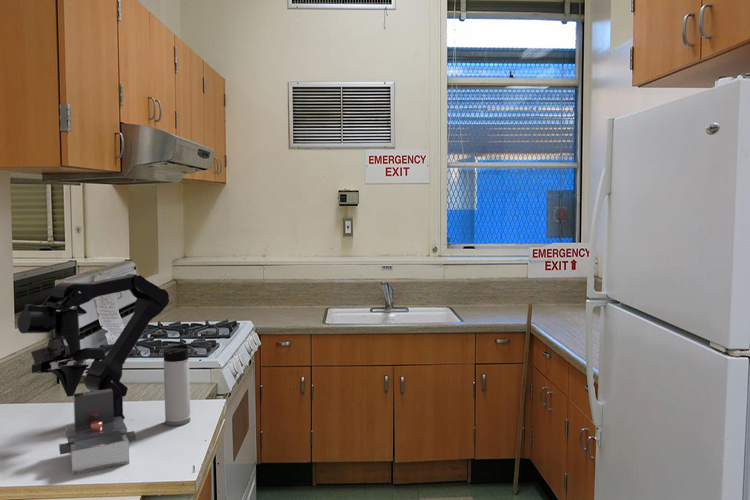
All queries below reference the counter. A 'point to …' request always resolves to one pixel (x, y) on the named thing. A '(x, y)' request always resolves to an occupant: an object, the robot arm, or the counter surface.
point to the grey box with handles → (98, 452)
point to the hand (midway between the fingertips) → (70, 396)
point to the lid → (94, 416)
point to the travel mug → (176, 385)
